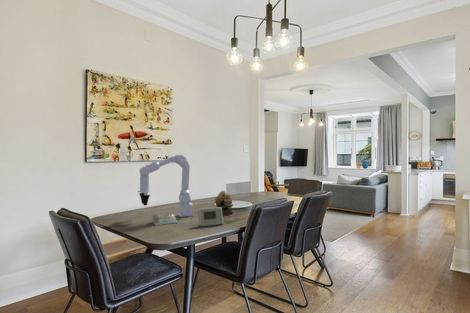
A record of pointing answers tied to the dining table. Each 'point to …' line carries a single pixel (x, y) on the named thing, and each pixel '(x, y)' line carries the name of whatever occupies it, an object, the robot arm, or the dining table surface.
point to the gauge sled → (170, 216)
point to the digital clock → (210, 216)
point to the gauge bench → (163, 220)
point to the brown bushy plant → (224, 202)
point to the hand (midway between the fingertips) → (144, 204)
